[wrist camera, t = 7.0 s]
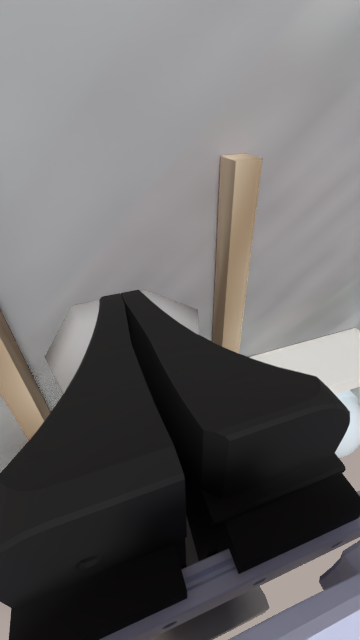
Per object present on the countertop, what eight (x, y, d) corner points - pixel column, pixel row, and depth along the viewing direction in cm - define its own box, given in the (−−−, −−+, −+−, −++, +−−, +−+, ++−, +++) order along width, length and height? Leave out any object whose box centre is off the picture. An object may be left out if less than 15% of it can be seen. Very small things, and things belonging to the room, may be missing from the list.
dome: (338, 356, 20) (400, 413, 16) (320, 403, 23) (368, 459, 19) (273, 376, 19) (325, 442, 15) (262, 422, 22) (303, 486, 18)
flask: (47, 280, 11) (51, 726, 4) (218, 290, 14) (402, 542, 7) (43, 403, 15) (42, 725, 8) (176, 391, 18) (262, 611, 11)
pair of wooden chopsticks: (245, 153, 11) (262, 158, 10) (217, 464, 25) (223, 478, 24) (-103, 186, 8) (-122, 196, 8) (83, 512, 22) (84, 529, 21)
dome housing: (355, 327, 20) (401, 363, 17) (324, 402, 25) (356, 439, 22) (249, 356, 18) (282, 401, 15) (237, 431, 23) (261, 475, 20)
